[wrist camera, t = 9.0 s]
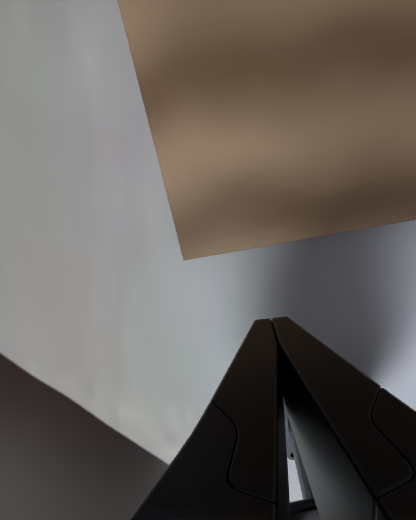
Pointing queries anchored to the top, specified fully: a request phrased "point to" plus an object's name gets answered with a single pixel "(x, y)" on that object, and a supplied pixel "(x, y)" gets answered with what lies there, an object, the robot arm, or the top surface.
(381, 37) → the cutting block
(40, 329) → the top surface
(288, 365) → the robot arm
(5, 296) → the top surface
